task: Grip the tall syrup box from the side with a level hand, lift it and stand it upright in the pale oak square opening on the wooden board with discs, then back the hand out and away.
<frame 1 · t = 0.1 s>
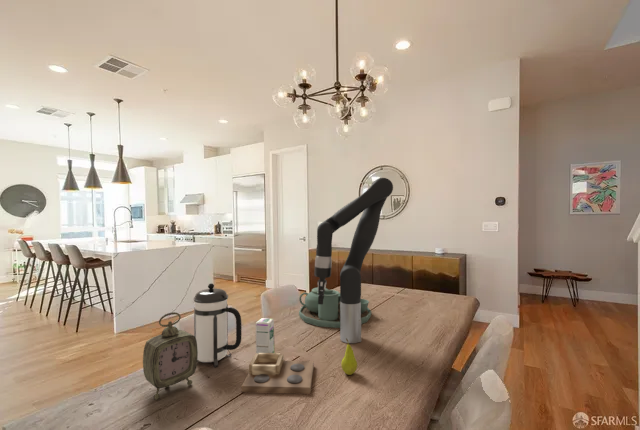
hand: (320, 301, 145), 17 cm above the table, tool pointing down, fingers open, 8 cm apart
fruit: (349, 374, 114), on the table
wooden board with discs: (280, 378, 111), on the table
syrup box: (265, 356, 128), on the table
tabletop clock: (170, 389, 104), on the table
coffee press: (215, 360, 125), on the table
tea set: (334, 316, 179), on the table
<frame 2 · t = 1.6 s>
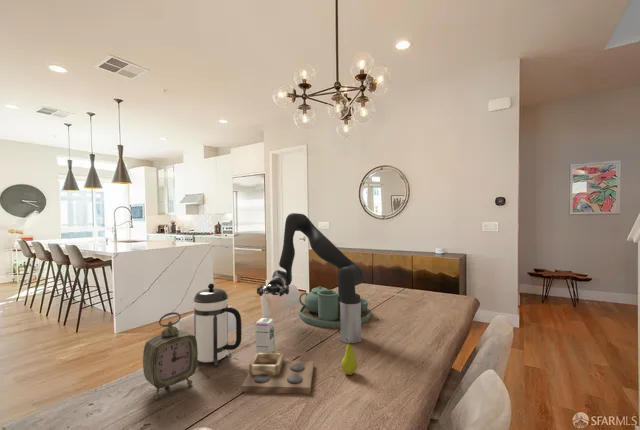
hand: (270, 294, 139), 22 cm above the table, tool horizontal, fingers open, 8 cm apart
nothing on the table moved.
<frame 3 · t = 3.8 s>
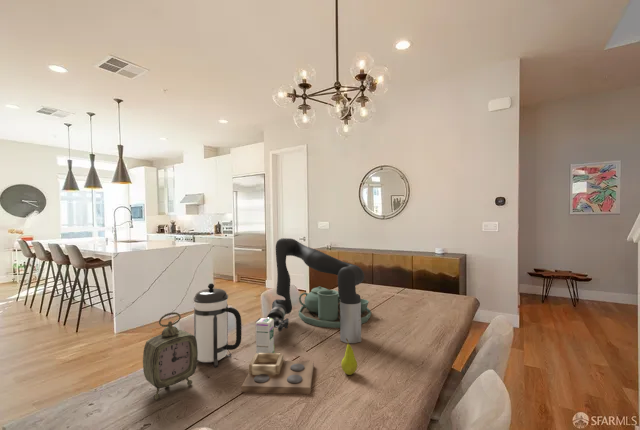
hand: (269, 328, 136), 8 cm above the table, tool horizontal, fingers open, 8 cm apart
nothing on the table moved.
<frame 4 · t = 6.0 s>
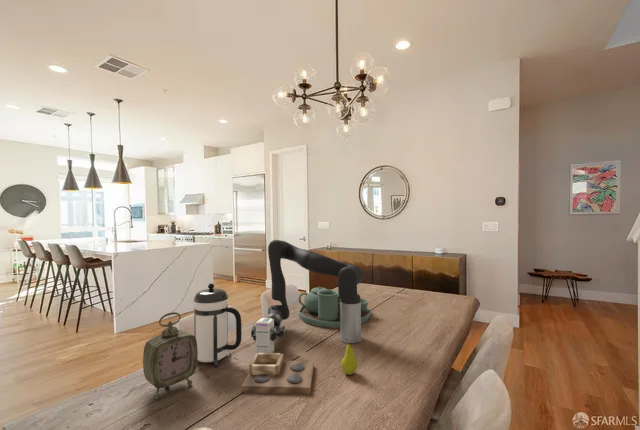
hand: (263, 338, 126), 8 cm above the table, tool horizontal, fingers closed on syrup box, 6 cm apart
syrup box: (265, 356, 128), on the table, touching gripper
everything else where it was.
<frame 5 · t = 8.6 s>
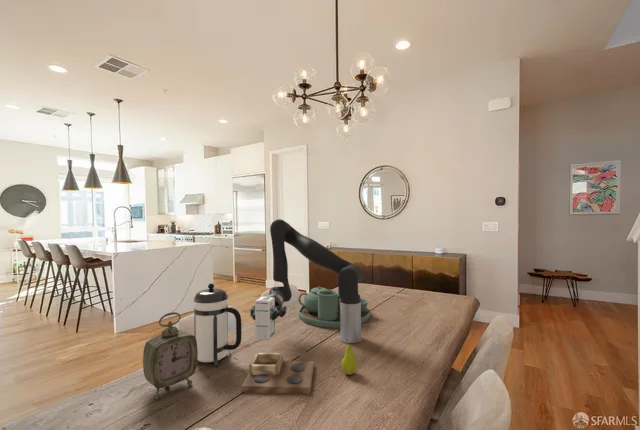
hand: (263, 317, 118), 19 cm above the table, tool horizontal, fingers closed on syrup box, 6 cm apart
syrup box: (265, 337, 120), point 11 cm above the table, touching gripper
everything else where it was.
when the fingers open (11 cm above the table, at t = 11.4 s): syrup box drops 1 cm, resting on wooden board with discs.
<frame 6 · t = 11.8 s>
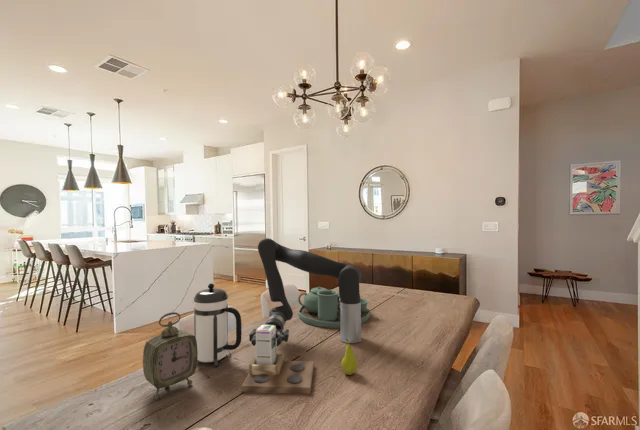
hand: (265, 343, 113), 11 cm above the table, tool horizontal, fingers open, 8 cm apart
syrup box: (266, 368, 115), point 2 cm above the table, touching wooden board with discs
everything else where it was.
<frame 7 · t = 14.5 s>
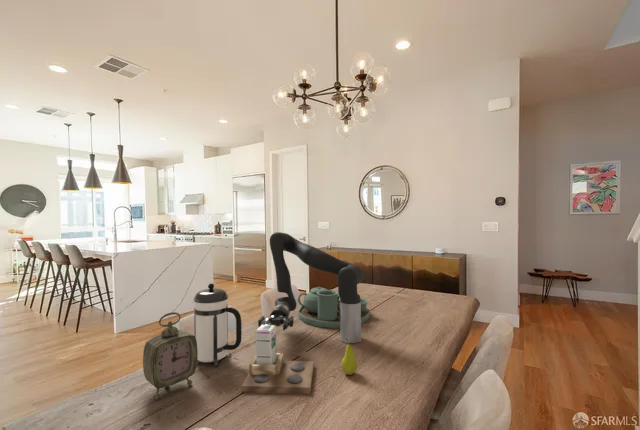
hand: (273, 327, 126), 12 cm above the table, tool horizontal, fingers open, 8 cm apart
nothing on the table moved.
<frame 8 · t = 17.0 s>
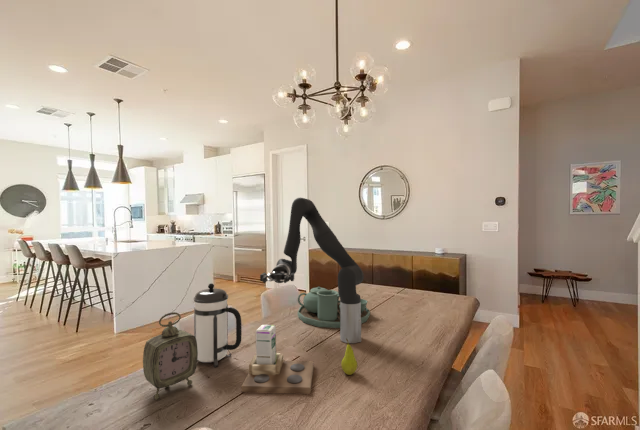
hand: (274, 280, 130), 30 cm above the table, tool horizontal, fingers open, 8 cm apart
nothing on the table moved.
at the end: syrup box 0.2 cm from the target spot on the wooden board with discs, point 1.8 cm above the wooden board with discs's base; syrup box tilted 0°; the gripper is holding nothing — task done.
